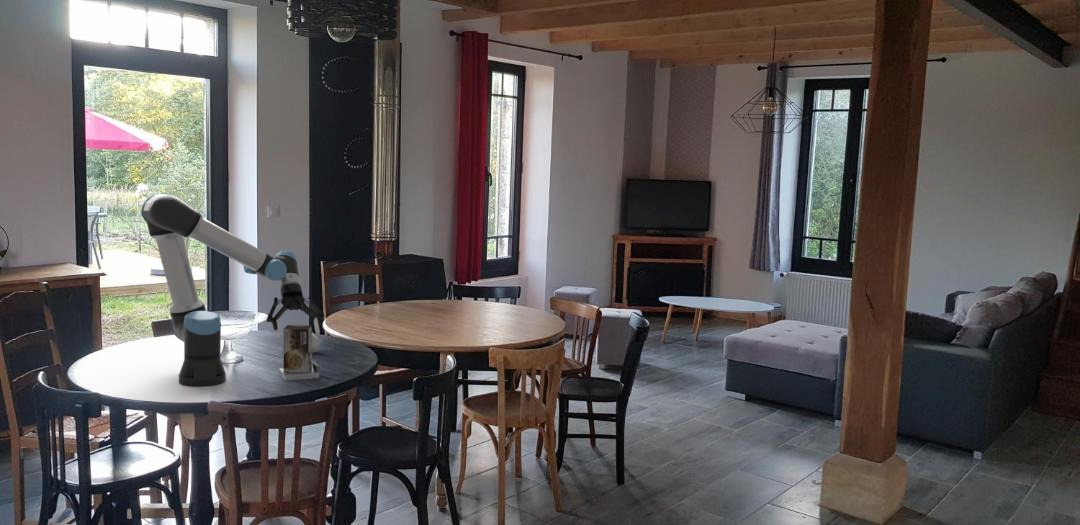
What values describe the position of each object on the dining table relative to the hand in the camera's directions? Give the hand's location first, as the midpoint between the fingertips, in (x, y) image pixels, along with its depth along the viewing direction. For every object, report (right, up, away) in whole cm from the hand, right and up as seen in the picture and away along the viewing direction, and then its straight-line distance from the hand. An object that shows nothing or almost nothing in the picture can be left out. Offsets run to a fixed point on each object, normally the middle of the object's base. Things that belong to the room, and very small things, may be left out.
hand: (299, 335), depth 301 cm
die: (-7, -10, +39) cm, 41 cm away
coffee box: (-1, -13, +2) cm, 13 cm away
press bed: (-1, -15, +2) cm, 15 cm away
